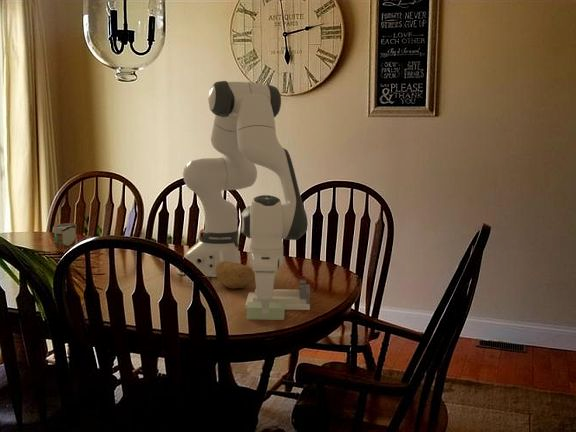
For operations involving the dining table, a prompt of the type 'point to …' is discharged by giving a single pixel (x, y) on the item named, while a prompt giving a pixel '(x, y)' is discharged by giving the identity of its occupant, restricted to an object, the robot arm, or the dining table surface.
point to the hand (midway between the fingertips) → (266, 307)
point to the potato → (234, 274)
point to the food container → (65, 235)
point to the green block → (274, 311)
